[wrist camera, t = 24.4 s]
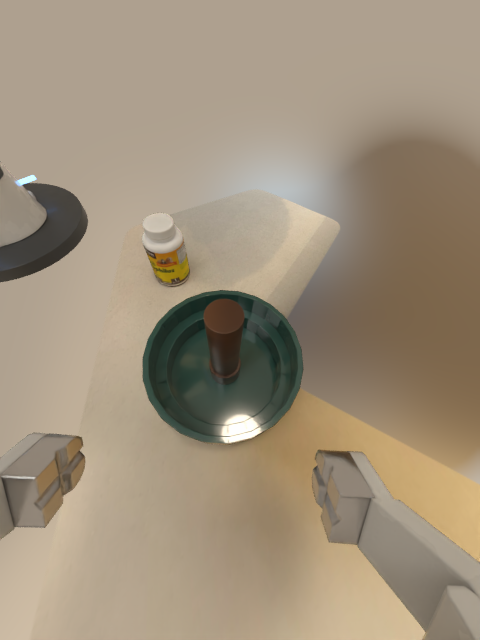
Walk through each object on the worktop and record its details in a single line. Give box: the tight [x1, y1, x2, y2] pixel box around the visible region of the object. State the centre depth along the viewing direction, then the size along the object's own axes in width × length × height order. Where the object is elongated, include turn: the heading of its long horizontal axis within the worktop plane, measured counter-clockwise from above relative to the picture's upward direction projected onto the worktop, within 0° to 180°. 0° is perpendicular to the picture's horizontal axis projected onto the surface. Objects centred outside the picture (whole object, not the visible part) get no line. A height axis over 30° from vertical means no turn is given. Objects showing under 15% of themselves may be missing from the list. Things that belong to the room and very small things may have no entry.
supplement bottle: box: [142, 213, 190, 286], centre depth 34 cm, size 6×6×10 cm
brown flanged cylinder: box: [204, 299, 245, 385], centre depth 24 cm, size 4×4×14 cm
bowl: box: [143, 290, 303, 445], centre depth 27 cm, size 17×17×6 cm
